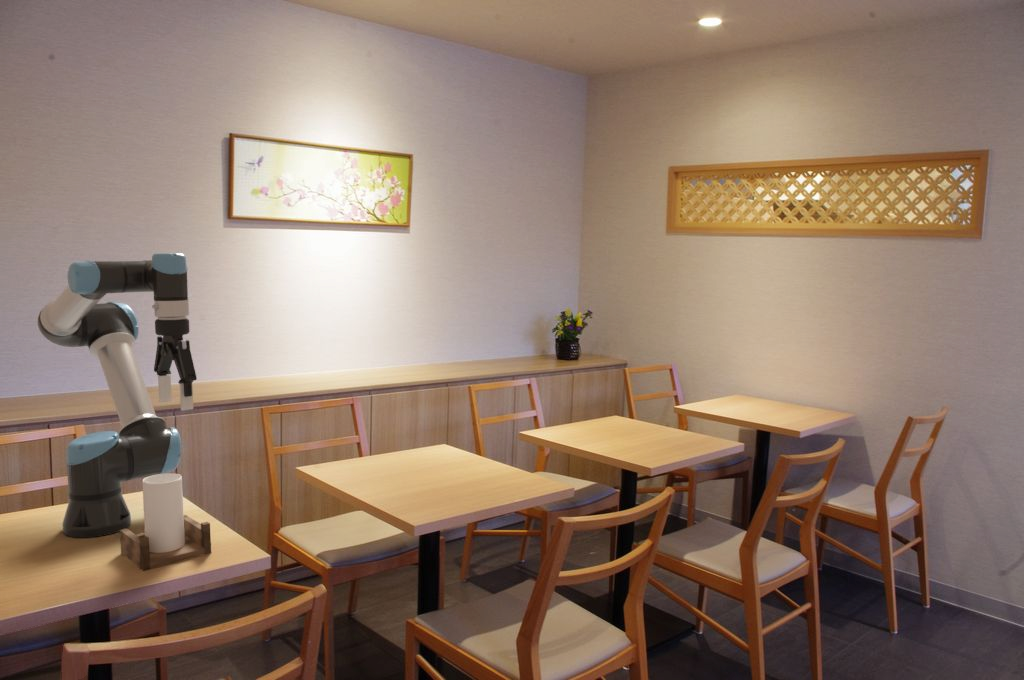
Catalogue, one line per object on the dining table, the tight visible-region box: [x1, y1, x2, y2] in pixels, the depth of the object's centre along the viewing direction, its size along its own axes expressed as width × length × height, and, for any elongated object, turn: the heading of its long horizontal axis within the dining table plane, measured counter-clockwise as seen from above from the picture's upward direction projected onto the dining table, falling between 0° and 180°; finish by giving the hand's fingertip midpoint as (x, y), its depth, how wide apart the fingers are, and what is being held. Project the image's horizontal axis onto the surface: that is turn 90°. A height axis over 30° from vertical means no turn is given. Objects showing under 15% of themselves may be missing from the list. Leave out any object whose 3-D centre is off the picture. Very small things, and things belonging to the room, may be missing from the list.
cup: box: [141, 472, 185, 553], centre depth 181 cm, size 8×8×16 cm
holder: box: [119, 514, 212, 572], centre depth 182 cm, size 14×15×7 cm
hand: (176, 405), depth 192 cm, fingers open, 13 cm apart
